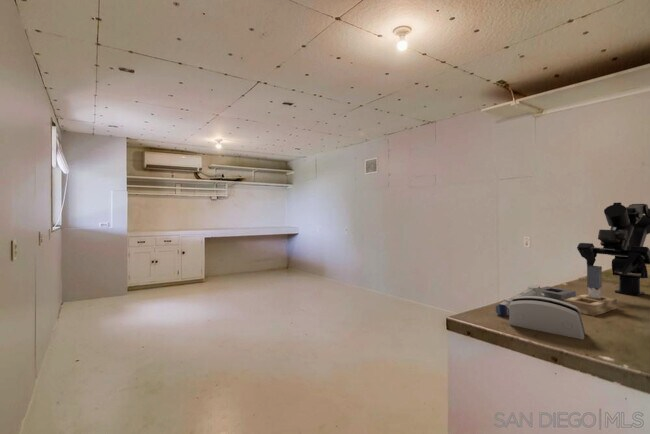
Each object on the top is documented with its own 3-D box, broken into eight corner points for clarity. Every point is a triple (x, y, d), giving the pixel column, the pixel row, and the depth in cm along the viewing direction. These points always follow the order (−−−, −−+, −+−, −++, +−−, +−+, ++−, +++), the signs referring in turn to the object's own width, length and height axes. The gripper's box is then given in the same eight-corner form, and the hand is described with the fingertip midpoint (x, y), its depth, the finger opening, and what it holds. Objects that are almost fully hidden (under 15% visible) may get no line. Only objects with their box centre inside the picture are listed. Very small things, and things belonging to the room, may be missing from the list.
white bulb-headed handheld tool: (492, 302, 101) (529, 279, 115) (494, 323, 101) (530, 297, 116) (510, 305, 96) (546, 281, 111) (512, 327, 97) (547, 301, 111)
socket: (547, 294, 122) (547, 286, 122) (575, 299, 114) (575, 291, 114) (533, 297, 117) (533, 289, 117) (561, 303, 109) (561, 294, 109)
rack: (586, 302, 110) (586, 293, 110) (616, 308, 103) (616, 298, 103) (564, 309, 104) (564, 299, 104) (594, 316, 97) (594, 305, 97)
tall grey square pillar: (590, 305, 107) (589, 265, 107) (601, 307, 105) (601, 266, 105) (587, 307, 105) (587, 266, 105) (599, 309, 103) (599, 267, 103)
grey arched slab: (586, 333, 84) (584, 299, 81) (584, 345, 80) (582, 310, 78) (513, 319, 95) (509, 289, 93) (508, 329, 92) (504, 298, 89)
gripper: (579, 220, 119) (564, 254, 114) (649, 221, 103) (635, 260, 97) (589, 240, 123) (575, 273, 118) (658, 244, 107) (645, 283, 102)
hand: (605, 272), depth 108 cm, fingers open, 9 cm apart
